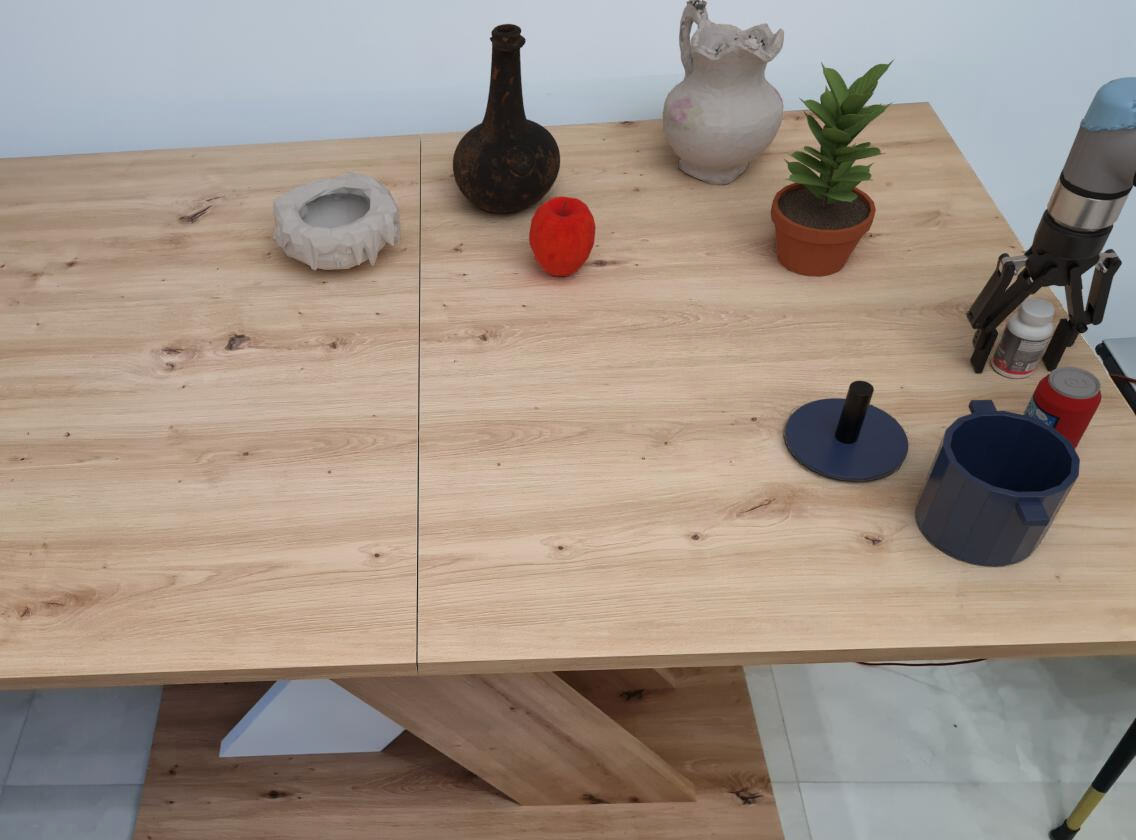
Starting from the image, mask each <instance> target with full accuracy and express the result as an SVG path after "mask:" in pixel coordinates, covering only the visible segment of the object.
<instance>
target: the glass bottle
mask: <svg viewBox="0 0 1136 840" xmlns="http://www.w3.org/2000/svg"><path fill="white" fill-rule="evenodd" d="M490 33H491V36H490V37H489V40H490V42H491V62H490V63H491V64H490V65H491V66H490V77H489V87H488V88H489V89H488V96H487V103H486V108H485V112H484V117H483V119H482V121H481V123H478V124H477V125H475V126H473V127H472V128H471V129H469V130H468V131H467V132H466V133H465V134H463V136H462V137H461V138H460V140H459V141H458V143H457V145H456V147H455V150H454V153H453V155H452V157H453V158H452V173H453V177H454V181H455V183H456V185H457V188H458V190H459V191H460V193H461V195H463V197H464V198H465V199H466V200H467V201H468V202H470V203H471V204H472V205H474V206H475V207H477V208H479V209H481V210H484V211H487V212H491V213H498V214H499V213H501V214H503V213H504V214H508V213H515V212H519V211H522V210H525V209H528V208H530V207H532V206H533V205H535V204H537V203H538V202H539V201H540V200H542V199H543V198H544V197H545V196H546V195H547V193H549V191H550V190H551V188H552V187H553V186H554V184H555V182H556V181H557V179H558V176H559V172H560V168H561V151H560V148H559V145H558V143H557V141H556V139H555V137H554V136H553V134H552V133H551V132H550V131H549V130H548V129H547V128H545V127H544V126H543V125H542V124H539V123H538V122H536V121H533V120H531V119H527V116H526V112H525V104H524V96H523V95H524V94H523V85H522V81H523V80H522V65H521V64H522V63H521V62H522V61H521V49H522V48H523V47H524V45H525V44H526V41H527V39H526V38H525V36H523V35H521V34H522V28H521V27H520V26H518V25H517V24H513V23H504V24H498V25H496V26H495V27H494V28H493V29H492V30H491V32H490Z"/></svg>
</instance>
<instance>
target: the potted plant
mask: <svg viewBox="0 0 1136 840" xmlns="http://www.w3.org/2000/svg"><path fill="white" fill-rule="evenodd" d="M894 61H895V59H893V60H891V61H890V62H889V63H879V64H875V65H874V66H872V67H871V68H869V69H868V70H867V71H866V72H865V73H864V74H863V75H862V76H860V77H858V78H857V79H855V80H854V81H853V82H852V84H850V86H849V87H847V84H846V82H845V80H844V78H843V77H842V75H841V74H840V73H839V72H838V71H837V70H836V69H834V68H831V67H825V64H823V62H822V61H821V62H820V63H821V68H822V73H823V77H824V78H825V81H826V83H827V85H825V89H824V90H825V91H824V92H822V94H820V97H819V100H820V102H819V101H817V100H814V99H806V100H804V99H802V98H800V97H798V98H799V100H800V101H801V102H802V103H803V105H805V107H806V108H807V109H808V110H809V111H811V113H813V114H814V116H816V117H817V118H818V119H819V120H820V121H821V122H822V123H823V124H824V125H823V127H822V126H821V124H820V123H819V121H818V120H816V118H815V117H814V116H813V115H811V114H808V113H806V111H805V110H802V112H803V113H804V115H805V117H806V121H807V125H808V128H809V129H810V131H811V133H812V135H813V136H814V138H815V139H816V141H817V142H818V144H819V145H820V148H819V150H817V149H816V148H814V147H811V146H809V145H805V146H803V147H802V148H801V149H802V150H804V151H805V152H804V151H797V150H796V151H794V152H793V153H792V154H791V153H788V152H786V154H787V155H789V156H790V157H791V158H793V159H795V160H796V161H788V160H787V159H785V158H783V160H784V162H785V163H786V165H787V169H788V171H789V173H791V174H790V175H789V176H788V178H784V180H785V181H790V182H792V183H789V184H788V185H785V186H783V187H782V188H781V189H780V190H778V191H777V192H776V193H775V195H774V197H773V199H772V202H771V208H770V220H771V222H772V224H774V233H775V234H774V235H775V245H776V246H775V247H776V255H777V261H778V262H779V263H780V265H781V266H782V267H784V268H785V269H786V270H788V271H790V272H793V273H795V274H796V275H800V276H805V277H806V276H807V277H824V276H830V275H833V274H835V273H839V272H840V271H841V270H842V269H843V268H844V267H845V266H846V264H847V262H848V260H849V259H850V257H851V255H852V254H853V253H854V251H855V249H856V248H857V246H858V244H859V243H860V240H861V239H862V238H863V236H864V235H866V234H867V233H868V232H869V231H870V230H871V227H872V225H873V223H874V218H875V216H876V212H877V208H876V204H875V202H874V200H873V199H872V198H871V197H870V196H869V194H868V193H866V192H865V191H863V190H861V189H859V188H858V187H857V186H858V185H859V184H861V183H862V182H868V181H873V179H872V176H873V175H872V174H871V173H870V171H871V170H870V168H871V167H872V166H873V165H874V164H875V161H874V162H871V163H870V164H868V165H863V164H857V165H856V164H855V162H856V161H858V160H862V159H867V158H872V157H877V156H881V155H885V154H886V152H882V150H881V149H880V148H879V147H877V146H876V147H874V146H871V145H872V143H871V142H870V141H865V142H862V143H858V144H857V143H856V142H855V143H854V144H853V145H852V146H849V145H850V144H851V143H852V142H853V141H854V139H855V138H856V137H858V135H859V134H860V133H861V132H863V130H864V129H865V128H866V127H867V126H868V125H869V124H870V123H871V122H872V121H874V120H876V119H877V118H878V117H880V116H881V115H882V114H883V113H884V112H885V111H886V110H887V109H888V108H889V107H890V106H891V105H892V104H893V103H894V102H890V103H888V104H887V105H883V104H882V103H879V104H872V105H870V106H865V105H866V104H867V102H868V101H869V100H870V99H871V98H872V97H873V96H874V93H875V90H876V88H877V86H878V84H879V80H880V79H881V78H882V76H883V75H884V74H885V73H887V71H888V70H889V68H890V66H891V65H892V64H893V62H894ZM864 106H865V107H864ZM856 144H857V145H856ZM870 146H871V147H870ZM854 164H855V165H854ZM816 172H817V173H818V174H819V175H818V174H817V173H816Z"/></svg>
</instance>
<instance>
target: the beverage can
mask: <svg viewBox="0 0 1136 840" xmlns="http://www.w3.org/2000/svg"><path fill="white" fill-rule="evenodd" d="M1101 385H1102V384H1101V381H1100V379H1098V377H1097V376H1096V375H1095V374H1094V373H1092V372H1090V371H1088V370H1086V369H1084V368H1080V367H1077V366H1060V367H1057V368H1056V369H1055V370H1053V371H1050V373H1048V374H1047V375H1045V376H1043V377H1042V378H1041V379H1040V380H1039V381H1038V383H1037V385H1036V387H1035V389H1034V391H1033V392H1032V395H1031V397H1030V399H1029V401H1028V403H1027V406H1026V408H1025V410H1024V412H1023V414H1022V415H1026V416H1030V417H1032V418H1034V419H1037V420H1039V421H1041V422H1043V423H1045V424H1047V425H1049V426H1052V427H1053V428H1054V429H1056V430H1057V431H1058V432H1059V433H1060V434H1062V435H1063V436H1064V437H1065V438H1066V439H1068V440H1069V441H1070V442H1071V443H1072V445H1073V447H1074V449H1075V450H1076V449H1077V447H1078V445H1079V443H1080V441H1081V440H1082V439H1083V436H1084V434H1085V432H1086V431H1087V428H1088V427H1089V425H1090V423H1091V421H1092V419H1093V418H1094V415H1095V414H1096V412H1097V410H1098V408H1099V406H1100V405H1101V402H1102V391H1101Z"/></svg>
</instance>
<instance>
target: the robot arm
mask: <svg viewBox="0 0 1136 840" xmlns="http://www.w3.org/2000/svg"><path fill="white" fill-rule="evenodd" d="M1134 188H1136V76H1127V77H1119V78H1115V79H1112V80H1110V81H1108V82H1106V83H1105V84H1102V86H1100V87H1099V88H1098V89H1097V91H1096V92H1095V95H1094V97H1093V98H1092V101H1091V103H1090V105H1089V106H1088V109H1087V110H1086V112H1085V114H1084V117H1082V119H1081V121H1080V123H1079V128H1078V131H1077V133H1076V135H1075V138H1074V140H1073V143H1072V145H1071V147H1070V150H1069V153H1068V155H1067V158H1066V160H1065V162H1064V165H1063V168H1062V170H1061V172H1060V174H1059V177H1058V179H1057V181H1056V183H1055V186H1054V188H1053V191H1052V193H1051V195H1050V198H1049V200H1048V202H1047V204H1046V209H1045V210H1044V211H1043V213H1042V216H1041V218H1040V221H1039V223H1038V226H1037V228H1036V230H1035V232H1034V236H1033V240H1032V243H1031V246H1030V247H1029V248H1028V249H1027V250H1026V251H1025V252H1024V253H1023V254H1021V255H1015V256H1014V255H1013V256H1010V255H1009V253H1008V252H1003V253H1001V254H999V256H998V259H997V263H996V267H995V270H994V271H993V273H992V274H991V276H990V277H989V279H988V281H987V282H986V284H985V285H984V287H983V288H982V290H981V291H980V292H979V294H978V296H977V297H976V299H975V300H974V302H973V303H972V305H971V306H970V307H969V310H967V312H966V314H965V315H966V319H967V320H968V323H969V324H970V327H971V328H972V330H975V332H974V335H973V337H972V340H971V344H972V347H973V348H974V349H973V352H972V354H971V356H970V359H969V362H970V363H971V366H972V368H973V370H974V372H975V374H982V373H983V371H984V369H985V366H986V365H987V362H988V360H989V358H990V355H991V353H992V350H993V349H994V346H995V344H996V341H997V339H998V337H999V334H1000V333H999V331H998V330H997V328H998V327H999V326H1000V325H1001V324H1002V323H1003V322H1004V321H1005V320H1006V319H1007V318H1008V317H1009V316H1010V315H1011V314H1013V312H1014V311H1015V310H1016V309H1017V308H1019V307H1020V306H1021V304H1022V302H1023V301H1024V300H1026V299H1028V298H1029V297H1030V296H1031V295H1035V294H1037V293H1038V291H1040V289H1041V288H1047V287H1052V286H1055V287H1064V294H1065V300H1066V309H1067V315H1068V318H1066V317H1065V318H1060V319H1059V321H1058V323H1057V326H1056V328H1055V330H1054V331H1053V333H1052V335H1051V337H1050V339H1049V341H1048V343H1047V345H1046V347H1045V350H1044V352H1043V354H1042V356H1041V359H1042V361H1043V363H1044V365H1045V366H1046V368H1047V370H1048V372H1052V371H1053V370H1055V369H1057V368H1058V366H1059V363H1060V362H1061V359H1062V358H1063V355H1064V353H1065V352H1066V349H1067V348H1071V347H1073V346H1074V344H1075V342H1076V340H1077V338H1078V337H1079V335H1080V334H1082V335H1083V334H1085V333H1086V332H1088V330H1089V327H1088V326H1089V325H1092V326H1098V325H1100V324H1101V323H1103V321H1104V317H1105V313H1106V308H1107V304H1108V300H1109V297H1110V292H1111V289H1112V284H1113V280H1114V277H1115V275H1116V274H1117V272H1118V271H1119V269H1120V268H1121V266H1122V264H1123V262H1122V260H1121V258H1120V256H1119V255H1118V254H1117V253H1116V251H1115V250H1114V249H1113V248H1107V249H1106V250H1104V252H1102V251H1103V249H1104V247H1105V245H1106V244H1107V241H1108V239H1109V237H1110V235H1111V233H1112V231H1113V229H1114V224H1115V223H1116V222H1117V221H1118V220H1119V216H1120V215H1121V214H1122V210H1123V208H1124V206H1125V204H1126V202H1127V200H1128V198H1129V196H1130V193H1131V192H1132V189H1134ZM1023 267H1024V268H1023ZM1093 267H1094V270H1093V274H1092V279H1091V282H1090V287H1089V290H1088V291H1089V292H1088V296H1087V300H1086V304H1085V306H1084V296H1083V288H1084V287H1083V278H1082V275H1084V274H1085V273H1087V272H1088V271H1090V270H1091V269H1092V268H1093ZM1021 268H1023V269H1022V270H1021V271H1019V270H1020V269H1021ZM1014 277H1016V279H1015V281H1014V282H1012V281H1013V278H1014ZM1011 283H1012V284H1011Z"/></svg>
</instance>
